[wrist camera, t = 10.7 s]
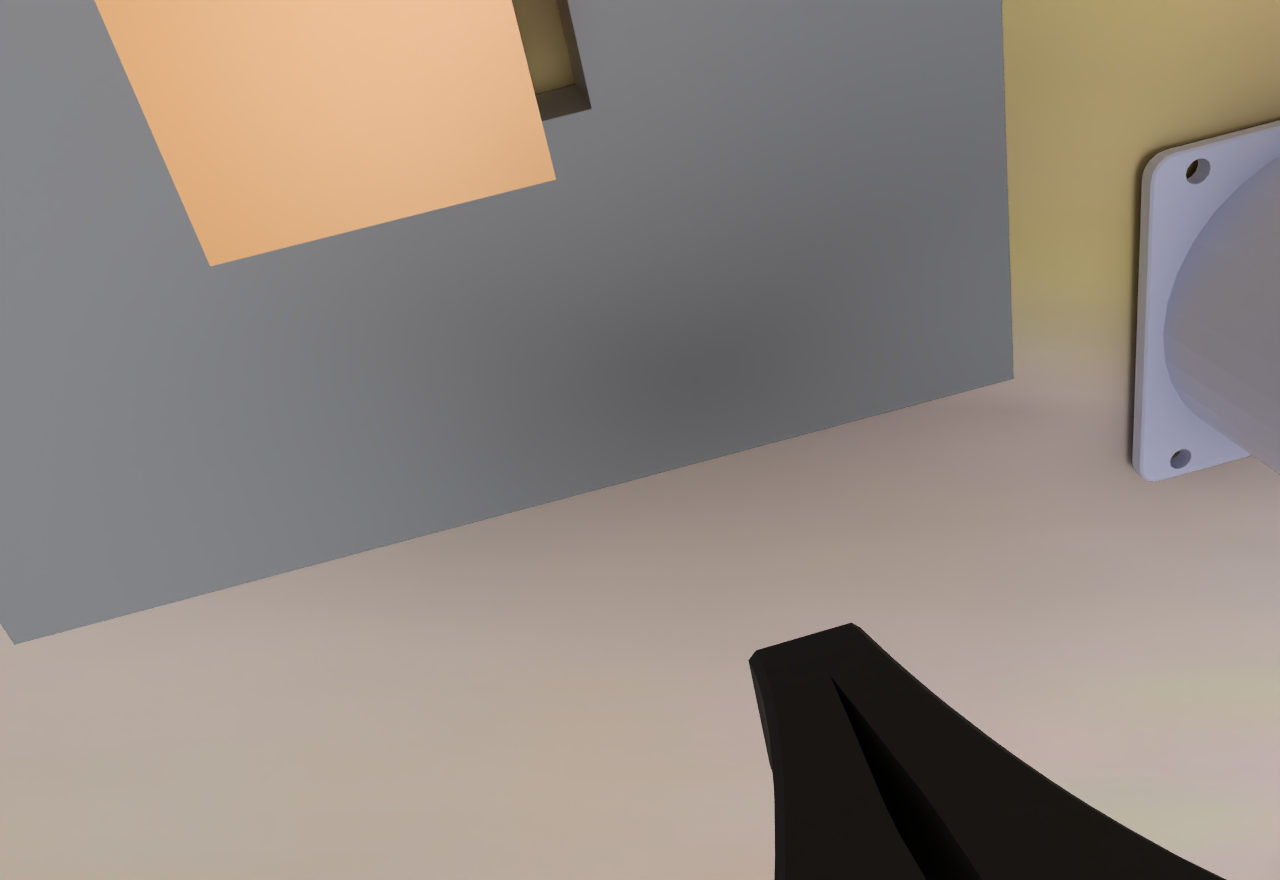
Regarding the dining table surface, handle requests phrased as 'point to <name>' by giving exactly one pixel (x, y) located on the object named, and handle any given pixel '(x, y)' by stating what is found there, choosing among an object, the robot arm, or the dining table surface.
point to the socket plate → (486, 296)
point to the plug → (329, 111)
